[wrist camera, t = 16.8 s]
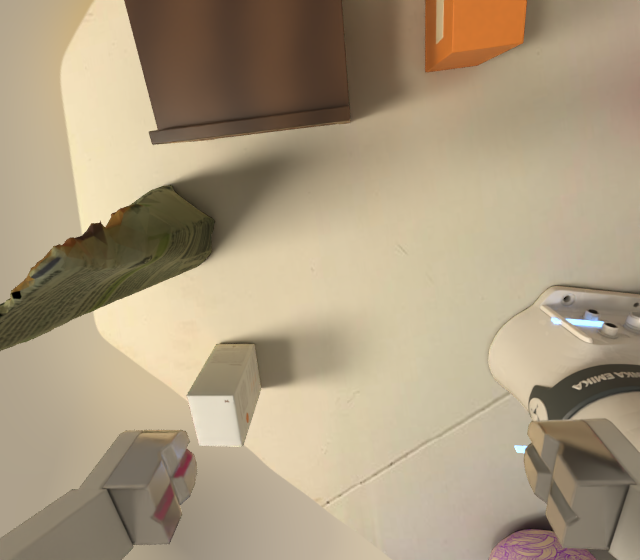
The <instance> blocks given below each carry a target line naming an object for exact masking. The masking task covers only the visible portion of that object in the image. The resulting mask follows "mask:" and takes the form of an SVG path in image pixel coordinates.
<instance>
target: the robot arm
mask: <svg viewBox="0 0 640 560" xmlns="http://www.w3.org/2000/svg"><path fill="white" fill-rule="evenodd" d="M565 296H568V297H567V298H566V299H564V297H565ZM563 299H564V300H563ZM488 363H489V368H490V371H491V373H492V375H493V377H494V379H495V380H496V381H497V382H498V383H499V384H500V385H501V386H502V387H503V388H505V389H506V390H507V391H508V392H510V393H511V394H512V395H513V396H514V397H515V398H516V399H517V400H518V401H519V402H520V403H521V404H522V405H523V407H524V408H525V409H526V410H527V411H528V412H529V414H530V416H531V418H532V420H533V421H531V423H530V424H529V426H528V432H527V435H528V436H529V438H530V440H531V442H532V443H531V444H530V445H528V446H515V449H516V451H517V452H519V453H524V465H525V472H526V475H527V478H528V481H529V484H530V486H531V488H532V490H533V492H534V494H535V495H536V496H537V497H539V498H540V499H541V500H542V501H544V502H545V503H546V504H547V508H546V513H545V515H546V517H547V519H548V521H549V523H550V525H551V527H552V529H553V531H554V533H555V535H556V537H557V538H558V540H559V542H560V544H561V546H562V548H577V549H603V550H609V553H610V554H611V555H612V556H614V557H615V558H616V559H617V560H640V294H631V293H622V292H612V291H602V290H593V289H583V288H574V287H564V286H553V287H550V288H548V289H547V290H546V291H545V292H544V293H543V294H542V295H541V296H540V297H539V298H538V299H537V300H536V302H535V303H534V304H533V305H532V306H530V307H529V308H528V309H526V310H524V311H522V312H521V313H519V314H517V315H516V316H514V317H513V318H512V319H510V320H509V321H508V322H507V323H506V324H505V325H504V326H503V327H502V328H501V329H500V330H499V331H498V333H497V334H496V336H495V337H494V339H493V341H492V343H491V346H490V349H489V355H488ZM189 442H190V440H189V438H188V435H187V432H186V431H183V430H144V431H143V430H136V431H135V430H126V431H125V432H123V433H121V434H120V435H119V436H118V437H117V439H116V440H115V441H114V443H113V444H112V445H111V447H110V448H109V449H108V450H107V452H106V453H105V455H104V456H103V457H102V459H101V460H100V461H99V462H98V464H97V465H96V466H95V468H94V469H93V470H92V472H91V473H90V474H89V476H88V477H87V478H86V480H85V481H84V482H83V484H82V485H81V486H80V488H79V489H72V490H70V491H69V492H67V493H66V494H65V495H63V496H62V497H60V498H59V499H57V500H56V501H54V502H53V503H51V504H50V505H48V506H47V507H45V508H44V509H43V510H41V511H40V512H38V513H37V514H35V515H34V516H32V517H31V518H29V519H28V520H26V521H25V522H24V523H22V524H21V525H19V526H18V527H16V528H15V529H13V530H12V531H10V532H9V533H7V534H6V535H4V536H3V537H1V538H0V560H122V559H123V558H124V557H125V556H126V555H127V554H128V553H129V552H130V551H131V550H132V549H133V545H152V544H170V542H171V539H172V537H173V535H174V532H175V530H176V528H177V526H178V523H179V521H180V519H181V516H182V512H181V508H180V505H181V504H182V503H183V502H184V501H185V500H187V499H188V498H189V497H190V495H191V493H192V490H193V488H194V485H195V481H196V475H197V463H196V459H195V456H194V454H193V453H192V452H190V451H189V450H188V449H187V446H188V444H189Z"/></svg>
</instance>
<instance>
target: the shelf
mask: <svg viewBox="0 0 640 560" xmlns="http://www.w3.org/2000/svg"><path fill="white" fill-rule="evenodd" d="M124 1H125V5H126V9H127V12H128V16H129V20H130V24H131V28H132V32H133V36H134V39H135V43H136V47H137V51H138V55H139V59H140V62H141V66H142V70H143V74H144V78H145V82H146V85H147V89H148V93H149V97H150V101H151V105H152V109H153V112H154V116H155V120H156V124H157V128H158V130H156V131H150V132H149V134H150V138H151V142H152V144H153V145H154V144H167V143H179V142H192V141H204V140H213V139H217V138H225V137H233V136H242V135H250V134H258V133H266V132H274V131H283V130H291V129H299V128H307V127H316V126H324V125H332V124H337V123H338V124H345V123H350V108H349V96H348V82H347V68H346V54H345V40H344V26H343V12H342V0H124Z"/></svg>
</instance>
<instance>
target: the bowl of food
mask: <svg viewBox="0 0 640 560" xmlns="http://www.w3.org/2000/svg"><path fill="white" fill-rule="evenodd" d="M489 560H597V559H596V558H595V557H594V556H593V555H592V554H591V553H590V552H589V551H588V550H587V549H577V548H562V546H561V544H560V542H559V540H558V538H557V537H556V535H555V533H554V531H547V530H539V529H523V530H520V531H516V532H514V533H512V534H511V535H509V536H508V537H506V538H505V539H503V540H502V541H500V542H499V543H498V544H497V545H496V546H495V547H494V548H493V549H492V552H491V554H490V557H489Z"/></svg>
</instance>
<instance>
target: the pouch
mask: <svg viewBox="0 0 640 560" xmlns="http://www.w3.org/2000/svg"><path fill="white" fill-rule="evenodd" d="M214 223H215V221H214V219H212V218H211V217H209V216H208V215H206V214H204V213H203V212H201V211H199V210H198V209H197V208H195V207H194V206H192V205H191V204H190V203H188V202H187V201H186V200H184V199H183V198H182V197H180V196H179V195H178V194H176V193H175V191H174V190H173V186H171V185H170V186H163V187H159V188H157V189H155V190H154V189H153V190H151V191H149V192H148V193H146V194H145V195H143V196H142V197H141V198H139V199H138V200H136V201H135V202H134V203H132V204H131V205H130V206H127V207H124V208H121V209H119V210H118V211H117V212H115V213H112V214H111V219H110V220H109V222H108V224H107V226H106V227H104V226H103V225H102V224H101V221H100V223H91V225H90V226H89V228H88V230H87V231H86V232H85V233H84V234H83V235H82V236H80V237H77V238H69V239H67V240H66V241H65V243H64V244H63V245H60V244H59V245H57V246H53V248H52V249H51V250H50V251H49V252H48V253H47V255H46V256H45V257H44V258H43V259H42V260H40V261H39V262H37V264H36V265H35V266H34V267H32V268H31V270H30V272H29V274H28V276H27V278H26V279H25V280H24V281H23V282H22V283H20V284H19V285H18V286H17V287H15V288H14V289H13V290H12V291H11V294H10V296H11V298H10V299H8V300H7V301H6V302H5V303H2V304H0V351H1V350H4V349H7V348H10V347H12V346H15V345H16V344H19V343H23V342H27V341H29V340H31V339H34V338H36V337H38V336H40V335H42V334H45V333H47V332H49V331H51V330H52V329H54V328H56V327H58V326H61V325H63V324H65V323H67V322H69V321H70V320H72V319H74V318H77V317H79V316H81V315H84V314H86V313H89V312H92V311H94V310H96V309H98V308H100V307H103V306H105V305H107V304H110V303H112V302H114V301H116V300H119V299H122V298H124V297H127V296H129V295H132V294H134V293H136V292H139V291H141V290H143V289H146V288H148V287H151V286H153V285H156V284H158V283H160V282H162V281H165V280H167V279H169V278H172V277H174V276H177V275H179V274H181V273H183V272H186V271H188V270H191V269H193V268H195V267H197V266H199V265H200V264H201V263H202V262H204V261H205V260H206V258H207V257H208V256H209V255H210V253H211V252H212V250H211V234H212V232H213V229H214Z"/></svg>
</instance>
